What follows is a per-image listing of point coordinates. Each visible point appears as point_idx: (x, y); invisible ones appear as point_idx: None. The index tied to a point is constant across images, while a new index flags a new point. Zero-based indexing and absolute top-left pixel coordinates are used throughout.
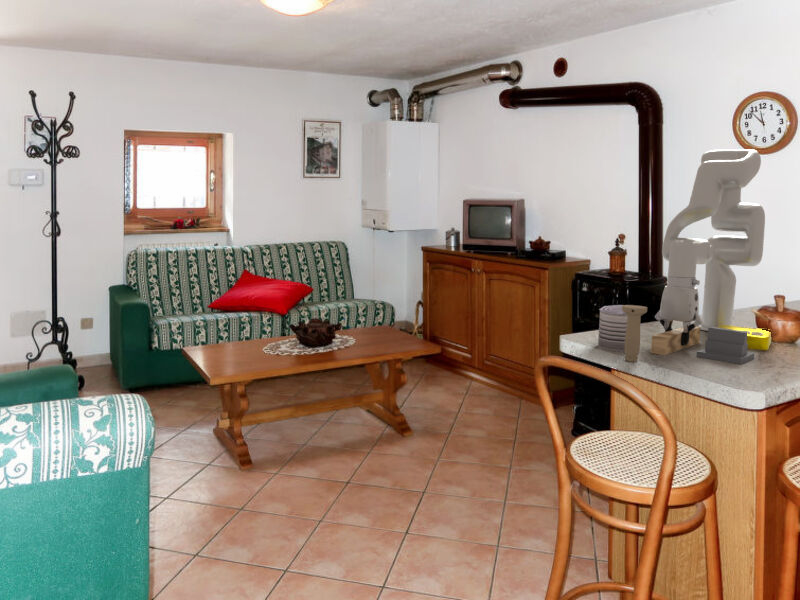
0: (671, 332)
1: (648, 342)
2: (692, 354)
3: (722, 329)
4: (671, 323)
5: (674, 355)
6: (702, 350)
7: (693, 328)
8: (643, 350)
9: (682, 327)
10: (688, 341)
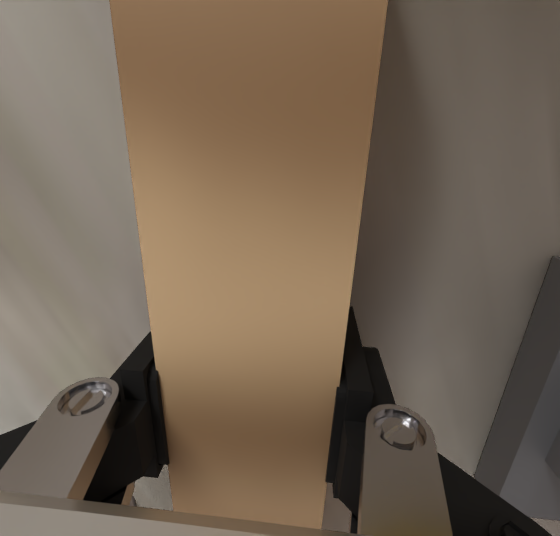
0: (231, 512)
1: (38, 283)
2: (436, 437)
3: None
4: (94, 471)
5: (350, 511)
6: (527, 472)
7: (486, 503)
8: (169, 500)
9: (144, 66)
10: (375, 353)
